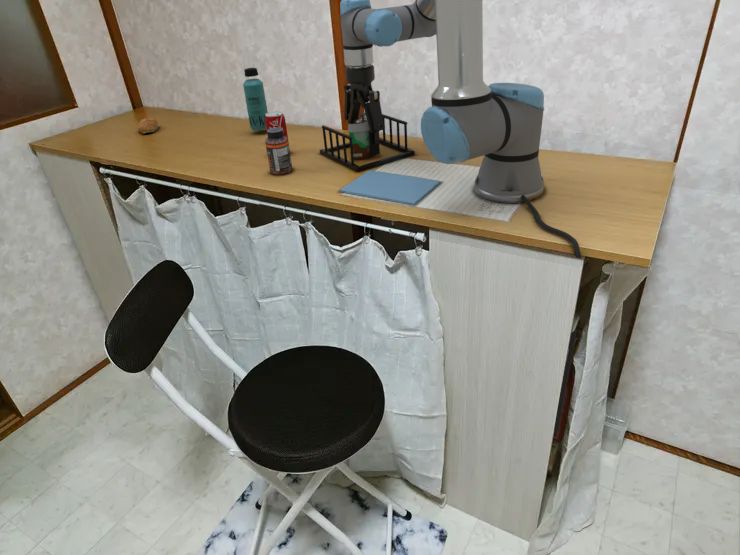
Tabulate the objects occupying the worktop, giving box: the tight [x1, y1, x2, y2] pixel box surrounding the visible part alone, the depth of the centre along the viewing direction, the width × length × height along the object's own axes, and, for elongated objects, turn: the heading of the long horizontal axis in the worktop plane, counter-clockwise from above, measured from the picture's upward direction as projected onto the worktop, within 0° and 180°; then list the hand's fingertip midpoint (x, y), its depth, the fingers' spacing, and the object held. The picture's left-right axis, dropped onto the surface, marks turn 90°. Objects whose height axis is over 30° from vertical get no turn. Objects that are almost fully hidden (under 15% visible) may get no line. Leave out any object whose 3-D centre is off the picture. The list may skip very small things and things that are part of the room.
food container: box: [347, 111, 374, 160], centre depth 146 cm, size 12×6×10 cm, turn 164°
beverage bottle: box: [242, 67, 269, 132], centre depth 168 cm, size 6×7×20 cm
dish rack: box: [319, 113, 416, 173], centre depth 146 cm, size 20×19×8 cm
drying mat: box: [339, 169, 441, 206], centre depth 127 cm, size 20×14×1 cm
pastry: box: [137, 116, 159, 135], centre depth 184 cm, size 9×7×4 cm
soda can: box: [265, 110, 291, 151], centre depth 150 cm, size 6×6×12 cm
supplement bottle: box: [264, 128, 293, 176], centre depth 138 cm, size 6×6×11 cm
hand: (365, 150), depth 148 cm, fingers closed on food container, 9 cm apart
